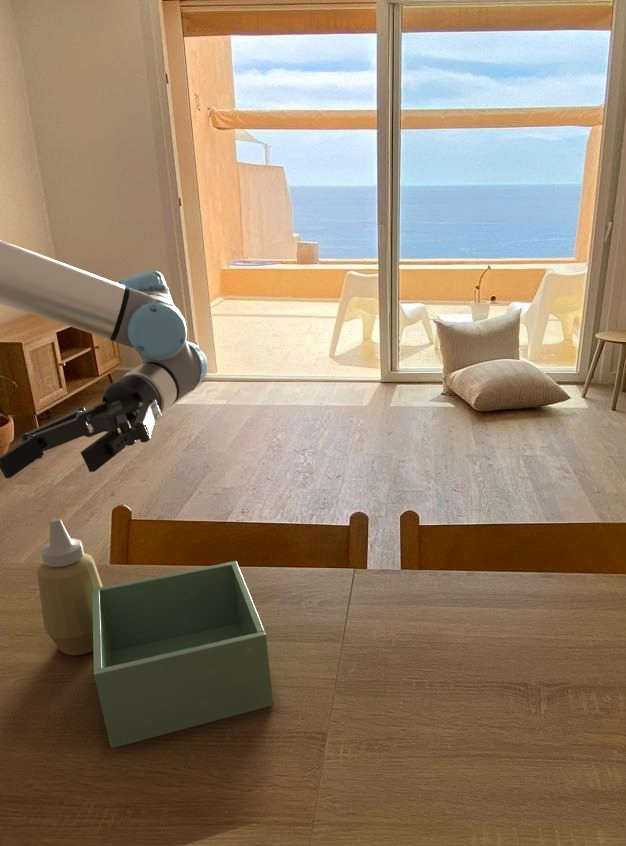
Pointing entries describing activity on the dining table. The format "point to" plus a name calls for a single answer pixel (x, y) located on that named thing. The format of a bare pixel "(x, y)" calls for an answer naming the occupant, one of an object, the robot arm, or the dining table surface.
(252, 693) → the storage bin
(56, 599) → the squeeze bottle
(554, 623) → the dining table surface
